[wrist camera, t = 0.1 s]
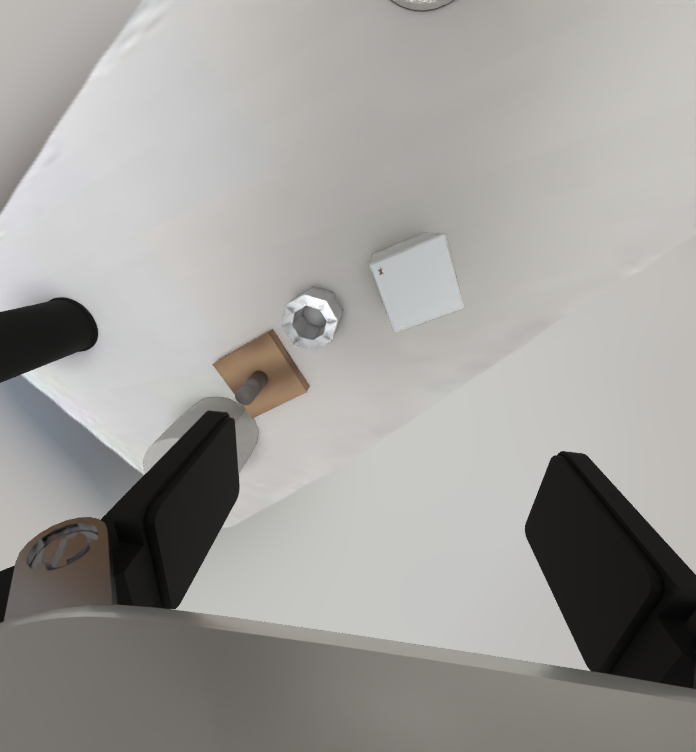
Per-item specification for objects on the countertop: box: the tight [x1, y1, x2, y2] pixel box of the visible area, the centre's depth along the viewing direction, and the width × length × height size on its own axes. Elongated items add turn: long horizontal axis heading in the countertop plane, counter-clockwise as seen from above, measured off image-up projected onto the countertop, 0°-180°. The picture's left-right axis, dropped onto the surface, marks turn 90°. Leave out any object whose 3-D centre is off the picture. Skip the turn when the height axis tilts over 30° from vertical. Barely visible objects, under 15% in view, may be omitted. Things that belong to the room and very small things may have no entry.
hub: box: [282, 287, 343, 350], centre depth 44 cm, size 6×6×6 cm
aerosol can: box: [0, 298, 98, 383], centre depth 41 cm, size 8×8×20 cm
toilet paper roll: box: [143, 397, 258, 474], centre depth 50 cm, size 12×12×12 cm
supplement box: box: [369, 233, 464, 333], centre depth 37 cm, size 7×7×13 cm
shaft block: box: [213, 329, 309, 418], centre depth 47 cm, size 10×10×8 cm
